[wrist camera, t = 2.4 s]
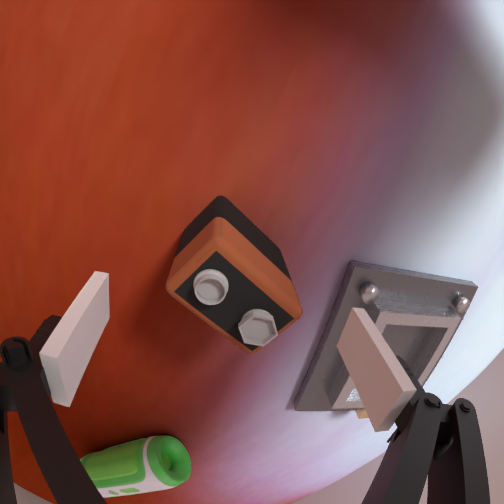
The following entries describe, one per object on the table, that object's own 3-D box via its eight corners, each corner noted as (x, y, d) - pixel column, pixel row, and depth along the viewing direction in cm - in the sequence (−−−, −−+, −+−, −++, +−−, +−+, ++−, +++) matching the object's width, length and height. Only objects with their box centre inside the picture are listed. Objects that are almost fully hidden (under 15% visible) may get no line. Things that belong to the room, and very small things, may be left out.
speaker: (112, 468, 39) (105, 505, 32) (78, 445, 36) (67, 484, 30) (195, 447, 36) (193, 494, 30) (158, 420, 34) (150, 471, 27)
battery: (243, 285, 27) (252, 369, 18) (181, 231, 25) (156, 300, 15) (282, 250, 26) (311, 325, 17) (220, 191, 24) (216, 241, 14)
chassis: (350, 260, 27) (363, 278, 24) (472, 281, 29) (488, 295, 26) (293, 402, 33) (298, 424, 30) (406, 399, 36) (415, 416, 33)
